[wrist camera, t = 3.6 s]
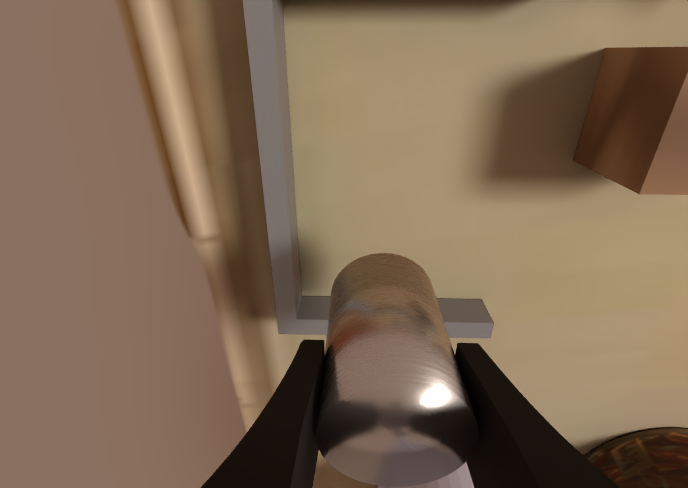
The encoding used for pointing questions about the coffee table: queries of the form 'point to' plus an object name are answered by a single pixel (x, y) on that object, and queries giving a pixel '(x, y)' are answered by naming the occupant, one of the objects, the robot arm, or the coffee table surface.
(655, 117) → the walnut block
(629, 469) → the jar
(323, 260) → the coffee table surface
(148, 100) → the coffee table surface
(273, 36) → the parts pen
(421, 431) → the silver cylinder
